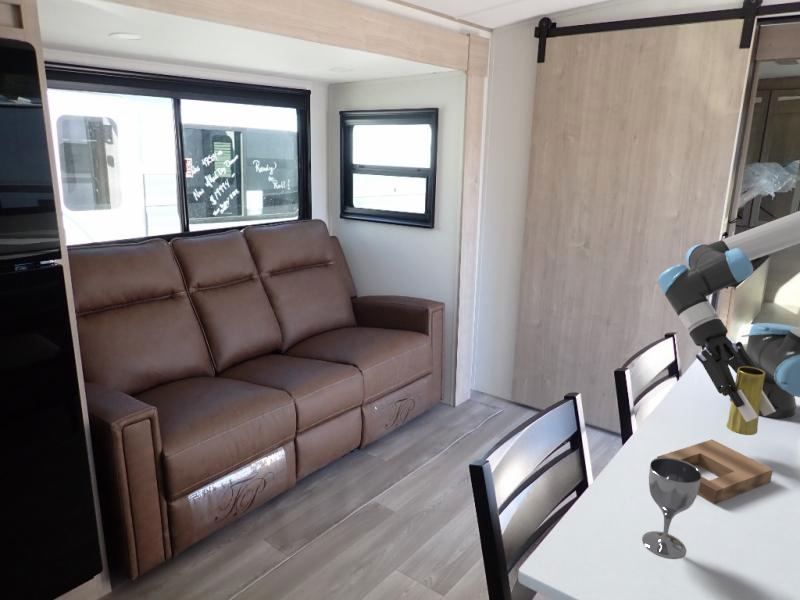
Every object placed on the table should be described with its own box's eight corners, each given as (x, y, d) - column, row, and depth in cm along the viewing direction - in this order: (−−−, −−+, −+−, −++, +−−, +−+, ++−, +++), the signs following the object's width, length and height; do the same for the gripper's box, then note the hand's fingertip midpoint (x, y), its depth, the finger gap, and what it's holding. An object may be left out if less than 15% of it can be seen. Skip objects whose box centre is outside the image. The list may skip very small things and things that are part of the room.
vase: (761, 436, 127) (772, 376, 123) (731, 434, 128) (741, 374, 124) (751, 423, 132) (761, 366, 129) (722, 421, 134) (731, 364, 130)
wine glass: (667, 565, 96) (680, 487, 92) (629, 537, 103) (640, 463, 99) (698, 551, 100) (712, 475, 96) (660, 525, 107) (671, 453, 103)
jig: (709, 450, 133) (711, 439, 132) (770, 482, 121) (772, 469, 120) (655, 468, 125) (657, 456, 124) (713, 504, 113) (716, 490, 112)
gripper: (717, 327, 142) (773, 414, 133) (665, 338, 135) (720, 431, 125) (741, 312, 136) (801, 401, 127) (688, 322, 129) (747, 419, 119)
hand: (761, 416), depth 126 cm, fingers closed on vase, 5 cm apart
